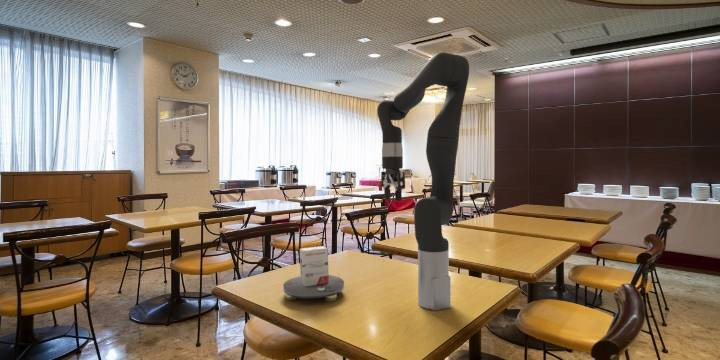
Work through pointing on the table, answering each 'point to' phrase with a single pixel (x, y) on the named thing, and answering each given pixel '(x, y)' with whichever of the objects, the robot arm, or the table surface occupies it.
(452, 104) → the robot arm
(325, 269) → the ink box
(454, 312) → the table surface
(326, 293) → the base
